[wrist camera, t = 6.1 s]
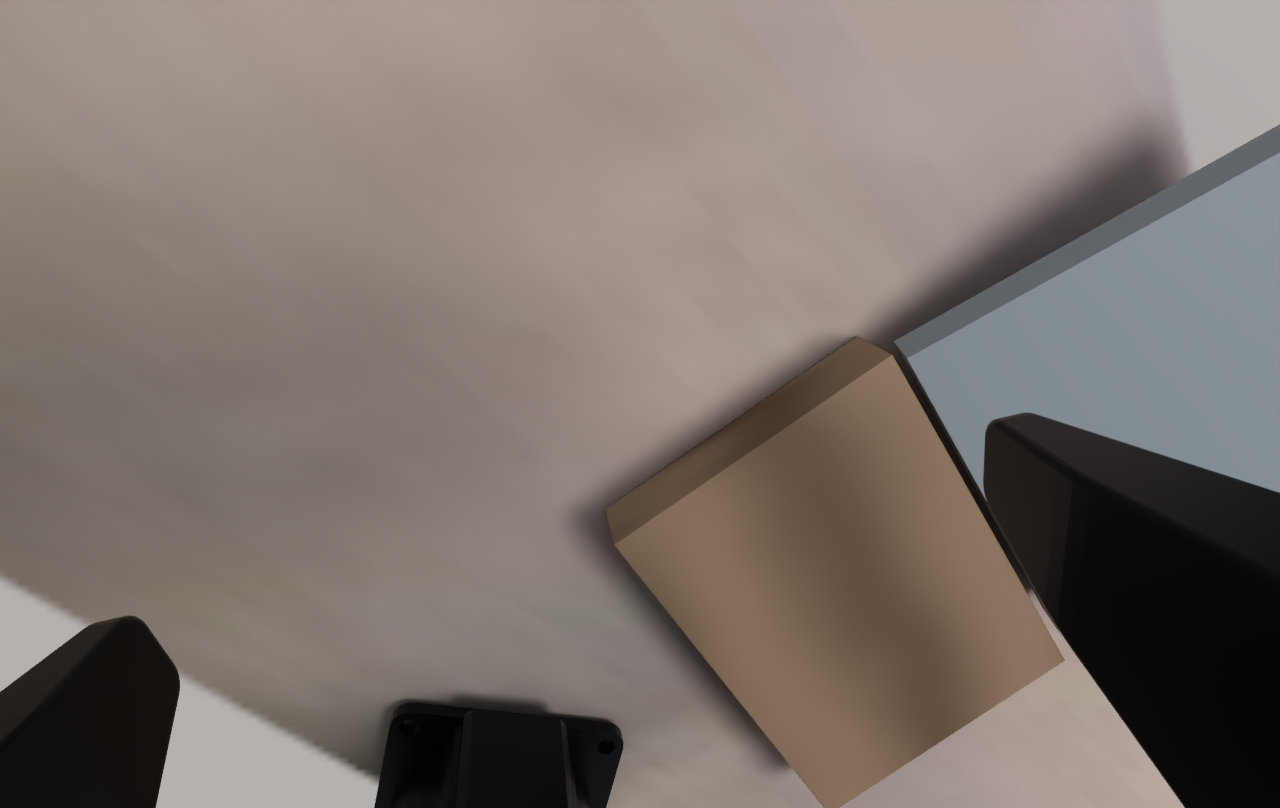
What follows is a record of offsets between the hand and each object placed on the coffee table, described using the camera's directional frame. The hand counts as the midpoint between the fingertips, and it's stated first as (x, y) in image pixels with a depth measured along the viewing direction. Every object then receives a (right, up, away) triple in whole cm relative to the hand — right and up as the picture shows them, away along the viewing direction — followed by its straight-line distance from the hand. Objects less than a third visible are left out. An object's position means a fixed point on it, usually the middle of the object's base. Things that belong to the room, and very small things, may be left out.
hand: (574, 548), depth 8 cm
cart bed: (+6, -3, +14) cm, 16 cm away
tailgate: (+10, -1, +13) cm, 16 cm away
